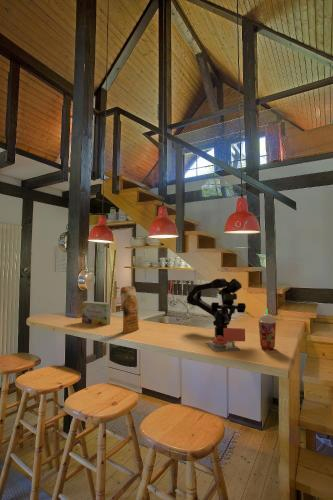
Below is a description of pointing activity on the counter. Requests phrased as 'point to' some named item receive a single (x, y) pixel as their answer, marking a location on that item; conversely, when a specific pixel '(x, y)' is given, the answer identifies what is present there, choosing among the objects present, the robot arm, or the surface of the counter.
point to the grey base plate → (223, 346)
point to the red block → (230, 335)
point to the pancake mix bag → (129, 309)
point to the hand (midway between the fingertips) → (229, 320)
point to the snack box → (96, 313)
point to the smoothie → (267, 331)
